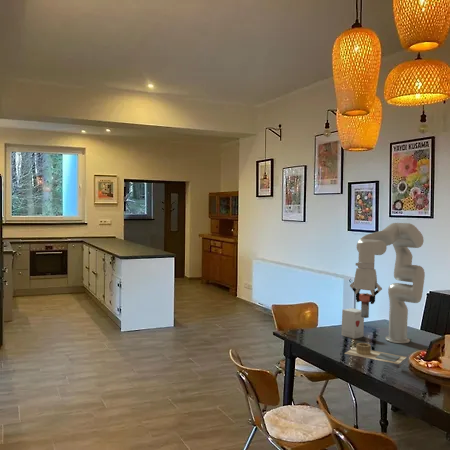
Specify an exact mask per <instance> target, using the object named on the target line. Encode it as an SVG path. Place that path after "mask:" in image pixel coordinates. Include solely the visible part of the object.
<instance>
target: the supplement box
mask: <svg viewBox="0 0 450 450" xmlns="http://www.w3.org/2000/svg"><path fill="white" fill-rule="evenodd" d="M364 324H365V318H363V317H361V309H358V308H354V307H350V308H344V309H342V315H341V336H343V337H346V338H350V339H359V338H362V337H364V328H365V325H364Z"/></svg>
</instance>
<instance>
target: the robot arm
mask: <svg viewBox="0 0 450 450" xmlns="http://www.w3.org/2000/svg"><path fill="white" fill-rule="evenodd" d="M424 239H425V238H424V236H423V234H422V233H421V231H420V230H419V229H418V228H417V226H415V225H414V224H412V223H410V222H408V223H407V222H393V223H390V224H389V225H387V226H386V227H385V228H384V229H382V230H379V231H375V232H372V233H367V234H365V235H364V236H362V237H360V239H359V240H358V241H357V242H356V251H357V252H358V261H357V262H355V266H357V268H356V270H355V274H354V281H353V282H352V283H351V284H349V287H350V289H352V291H353V292H354V294H355V300H356V303H359V302H361V301H359V294H361V293H360V292H361V290H362V291H363V290H364V291H370V294H371V295H372V296H371V302H370V304H371V305H374V304H375V303H376V295H378V294H379V293H380V292H381V291H382V290H383V288H382V287H381V285H380V284H378V277H377V276H378V275H377V271H376V269H375V256H381V255H384V254H385V253H386V252H387V249H388V247H387V246H390V245H392V246H393V249H394V251H395V260H394V261H395V263H394V269H393V270H394V271H393V277H394V279H395V280H397V281H399V282H394V283H391V284H390V285H389V286H388V291H387V292H388V301H389V312H388V314H389V315H388V320H389V321H388V335H386V336H385V341H387V342H389V343H395V344H409V343H410V341H411V339H410V338H408V317H409V316H408V315H409V313H408V312H409V310H408V309H409V308H408V307H407V304H406V303H412V304H418V303H420V302H421V301H422V297H423V292H424V291H423V290H424V285H425V284H424V283H425V276H426V275H425V269H424V267H422V266H421V265H418V264H412V263H413V254H412V252H411V251H410V248H411V249H419V248H421V247H422V246H423V245H424ZM400 282H401V283H400ZM403 282H406V283H403ZM407 282H408V283H409V284H407ZM410 283H412V284H410ZM376 289H377V290H376Z"/></svg>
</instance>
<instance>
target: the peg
mask: <svg viewBox="0 0 450 450" xmlns="http://www.w3.org/2000/svg"><path fill="white" fill-rule="evenodd" d="M371 296H372V294H371V293H368V292H366V293H364V292H363V293H362V292H361V293H360V294H359V301H360V302H361V305H360V306H361V309H360V310H361V317H363V318H364V319H367V318H370V317H369V316H370V303H371Z"/></svg>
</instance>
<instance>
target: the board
mask: <svg viewBox="0 0 450 450" xmlns="http://www.w3.org/2000/svg"><path fill="white" fill-rule="evenodd" d="M344 354H345V355H350V356H355V357H361V358H365V359H370V360H373V361H374V360H376V361H380V362H384V363H385V362H386V363H391V364H395V365H399V366H398V368H400V367H401V366H402V365H403V364H404V362H403V361H405V359H406V360H407V357H408V356H404V355H397V354H393V353H388V352H382V351H377V350H372V346H371V344H370V343H366V342H358V343H356V346H354V347H353V348H351V349H349V350H348V351H346V352H344Z"/></svg>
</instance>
